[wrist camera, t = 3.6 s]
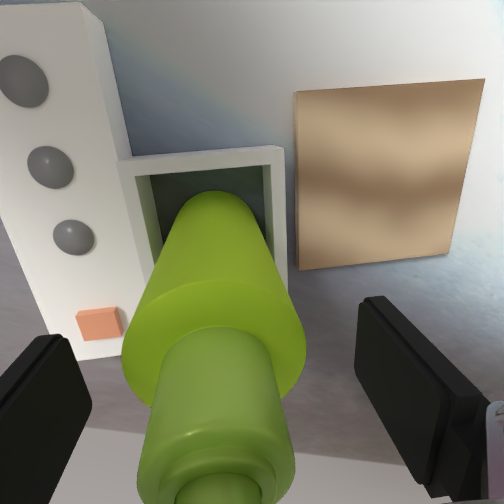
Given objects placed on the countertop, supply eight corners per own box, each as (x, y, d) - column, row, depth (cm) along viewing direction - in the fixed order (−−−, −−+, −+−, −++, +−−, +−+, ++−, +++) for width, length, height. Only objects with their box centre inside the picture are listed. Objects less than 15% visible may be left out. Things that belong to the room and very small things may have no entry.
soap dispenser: (234, 162, 20) (489, 615, 1) (266, 251, 22) (492, 792, 4) (153, 193, 20) (-563, 958, 2) (194, 277, 23) (108, 909, 4)
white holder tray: (-34, 29, 16) (-101, 3, 12) (267, 15, 17) (280, -12, 14) (80, 335, 23) (57, 369, 20) (279, 310, 25) (289, 338, 21)
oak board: (293, 93, 18) (298, 91, 18) (472, 80, 19) (485, 78, 19) (295, 265, 23) (299, 270, 22) (439, 248, 24) (448, 253, 23)
